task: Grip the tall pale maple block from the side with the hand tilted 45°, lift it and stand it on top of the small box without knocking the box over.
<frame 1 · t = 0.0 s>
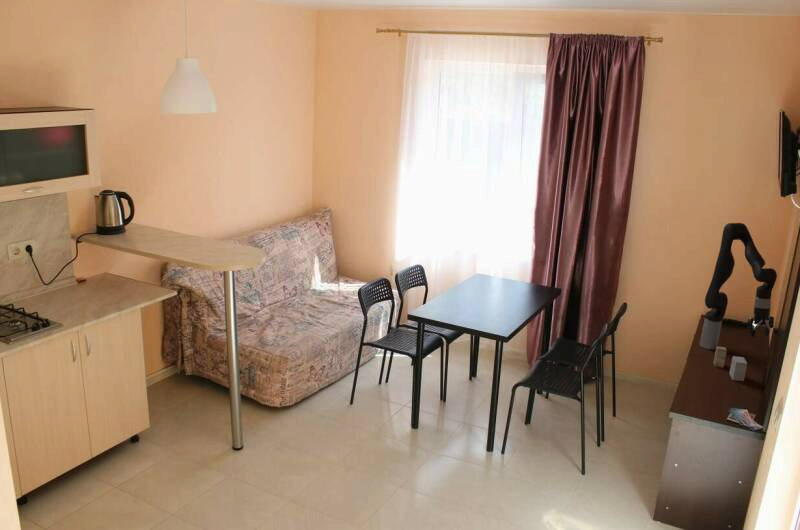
hand: (759, 336, 375), 22 cm above the dresser top, tool pointing down, fingers open, 8 cm apart
maple block: (718, 365, 391), on the dresser top
small box: (736, 377, 378), on the dresser top
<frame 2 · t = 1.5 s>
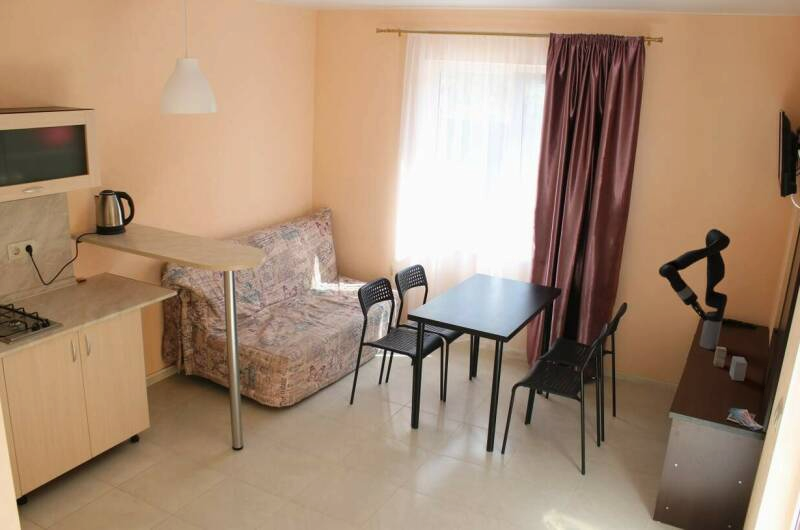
hand: (705, 317, 385), 27 cm above the dresser top, tool tilted 45°, fingers open, 8 cm apart
nothing on the dresser top moved.
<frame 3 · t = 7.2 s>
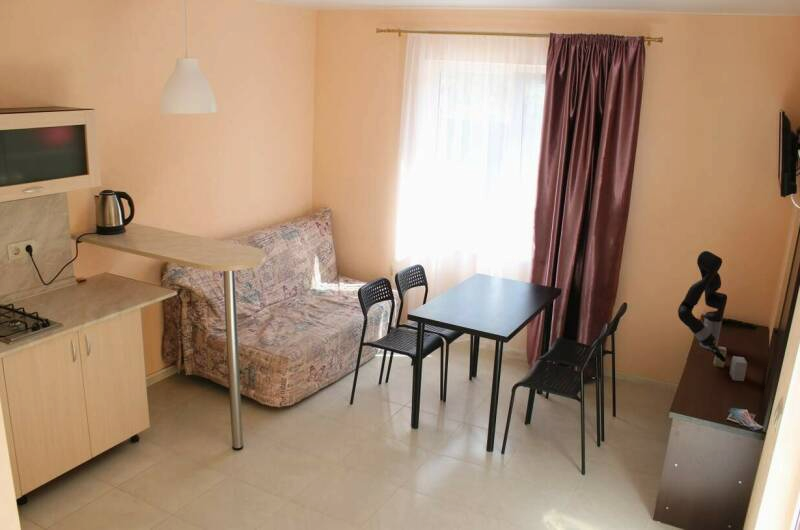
hand: (723, 358, 389), 4 cm above the dresser top, tool tilted 45°, fingers closed on maple block, 4 cm apart
maple block: (718, 365, 391), on the dresser top, touching gripper
everything else where it was.
when the fingers open (16 cm above the dresser top, at t = 14.3 s): maple block drops 2 cm, resting on small box.
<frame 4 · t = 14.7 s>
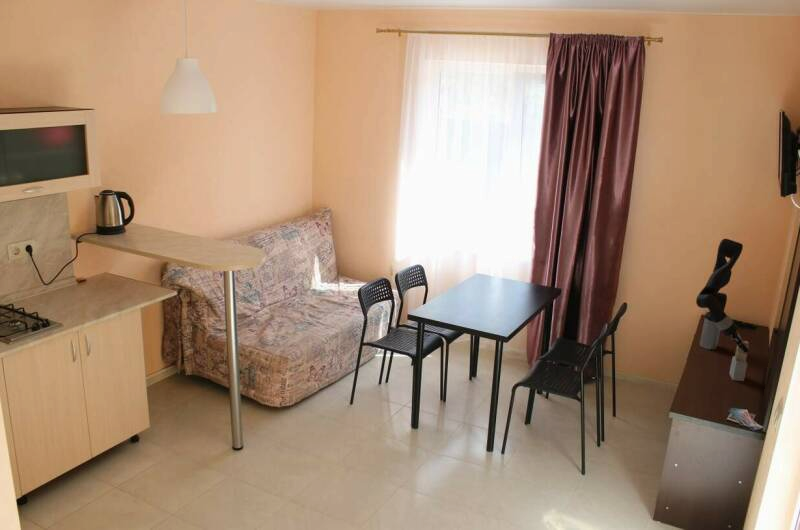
hand: (745, 348, 372), 17 cm above the dresser top, tool tilted 45°, fingers open, 7 cm apart
maple block: (739, 359, 374), point 10 cm above the dresser top, touching small box
small box: (736, 378, 378), on the dresser top, touching maple block
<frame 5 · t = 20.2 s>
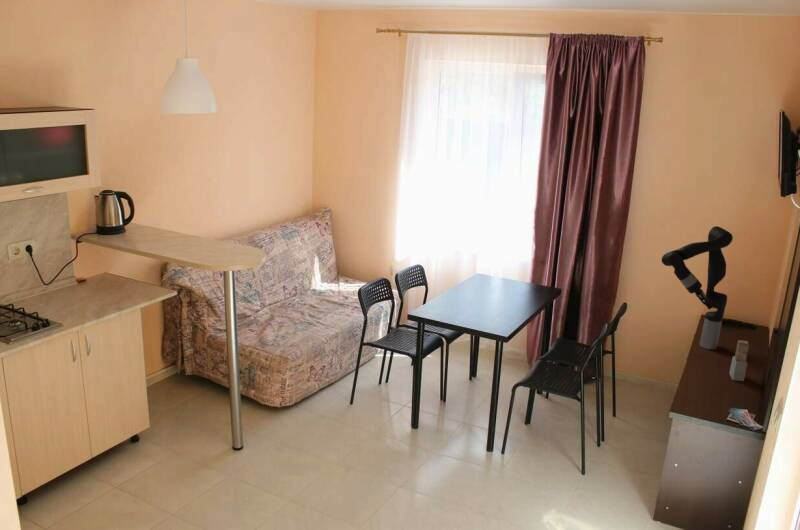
hand: (709, 305, 380), 35 cm above the dresser top, tool tilted 45°, fingers open, 8 cm apart
nothing on the dresser top moved.
at the end: maple block 0.4 cm off-centre on the small box, point 10.7 cm above the small box's base; maple block tilted 0°; small box moved 0.3 cm from its start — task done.
